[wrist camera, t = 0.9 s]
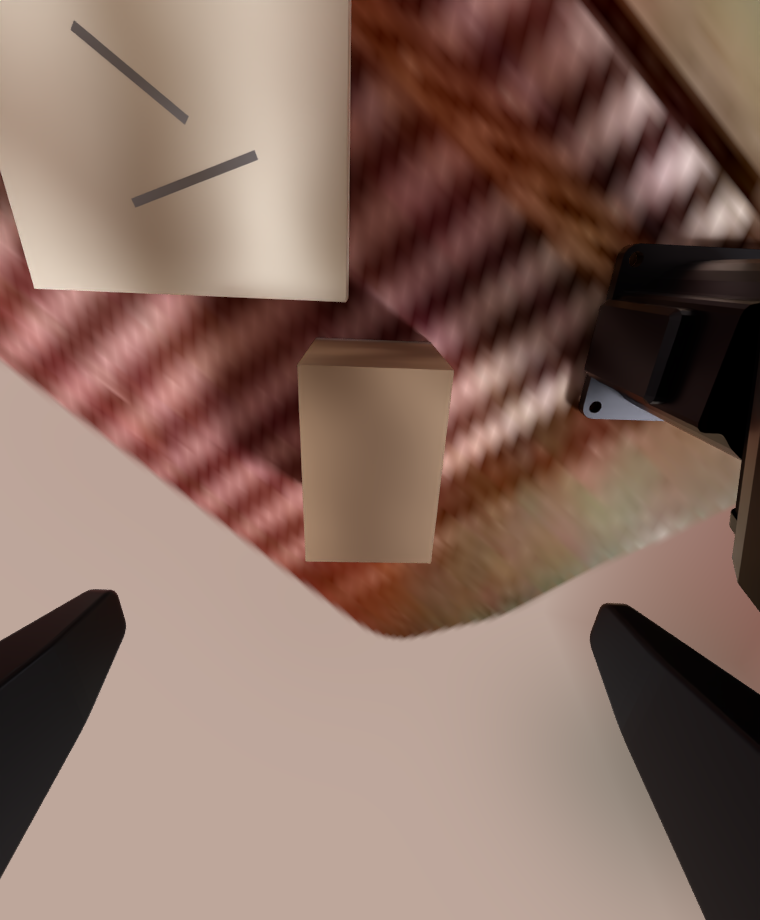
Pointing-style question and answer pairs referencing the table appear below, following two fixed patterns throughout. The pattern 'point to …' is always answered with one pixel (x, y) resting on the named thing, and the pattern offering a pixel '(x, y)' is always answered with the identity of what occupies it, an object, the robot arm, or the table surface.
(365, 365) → the block
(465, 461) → the table surface
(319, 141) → the birch board
